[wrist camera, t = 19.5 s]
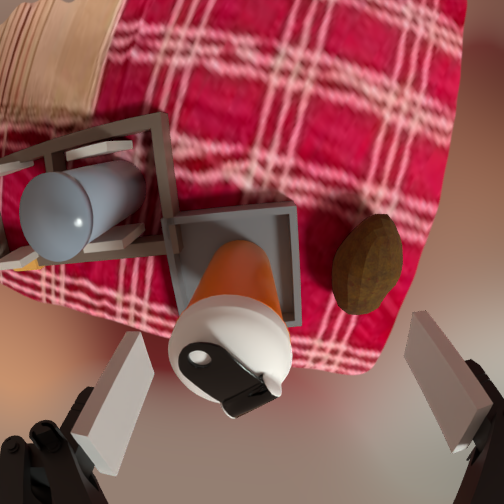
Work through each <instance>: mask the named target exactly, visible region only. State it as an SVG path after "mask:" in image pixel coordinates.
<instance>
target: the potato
mask: <svg viewBox="0 0 504 504" xmlns="http://www.w3.org/2000/svg"><path fill="white" fill-rule="evenodd" d="M402 264H403V254H402V243H401V239H400V236H399V233H398V231H397V228H396V226H395V224H394V222H393V221H392V220H391V218H390V217H389V216H388V214H375V215H373V216H371V217H369V218H367V219H365V220H364V221H362V222H361V223H360V224H359V225H358V226H357V227H356V228H355V229H354V230H353V231H352V232H351V233H350V234H349V235H348V237H347V238H346V239H345V240H344V241H343V243H342V244H341V245H340V247H339V248H338V250H337V252H336V254H335V257H334V259H333V266H332V287H333V294H334V297H335V299H336V301H337V304H338V306H339V307H340V308H341V309H342V310H344V311H345V312H346V313H348V314H352V315H360V314H367V313H370V312H371V311H373V310H375V309H377V308H378V307H379V305H380V304H381V302H382V301H383V299H384V298H385V296H386V295H387V293H388V292H389V291H390V290H391V289H392V288H393V287H394V286H395V285H396V283H397V281H398V279H399V277H400V274H401V270H402Z"/></svg>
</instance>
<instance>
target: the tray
mask: <svg viewBox="0 0 504 504" xmlns="http://www.w3.org/2000/svg"><path fill="white" fill-rule="evenodd" d="M168 219H170V218H168ZM168 219H167V220H166V218H165V219H163V217H162V218H161V224H162V230H163V236H164V242H165V247H166V253H167V258H168V263H169V269H170V274H171V279H172V284H173V288H174V293H175V298H176V303H177V307H178V312H179V316H180V315H181V313H182V312H183V311H184V310H185V309H186V308H187V306H188V304H189V302H190V300H191V298H192V296H193V294H194V292H195V290H196V288H197V286H198V284H199V282H200V281H201V279H202V277H203V275H204V273H205V271H206V269H207V267H208V265H209V263H210V261H211V259H212V257H213V255H214V254H215V252H216V251H217V250H218V249H219V248H220V247H221V246H222V245H224V244H226V243H228V242H231V241H235V240H245V241H250V242H252V243H254V244H256V245H258V246H259V247H261V248H262V249H263V250H264V252H265V253H266V255H267V256H268V259H269V261H270V265H271V269H272V274H273V278H274V282H275V287H276V291H277V295H278V300H279V304H280V308H281V313H282V317H283V321H284V322H285V323H286V326H287V327H295V326H302V316H301V286H300V262H299V242H298V224H297V207H296V204H295V203H294V201H284V202H272V203H260V204H249V205H238V206H228V207H218V208H208V209H199V210H190V211H181V212H179V213H178V214H177V215H176V216H175V217H174V218H171V219H170V220H172V221H171V222H173V221H174V222H173V223H175V225H177V224H180V227H181V234H182V240H183V246H184V247H183V249H182V250H181V252H180V253H179V254H173V251H172V250H173V248H172V245H171V243H172V242H171V239H170V238H171V237H170V235H169V234H170V233H168V234H167V235H166V233H167V232H166V231H167V230H168V231H169V232H170V230H169V228H168V227H169V226H167V224H168V223H169V222H170V221H169V222H167V221H168ZM164 220H166V221H164ZM165 222H166V224H165ZM171 222H170V223H169V224H170V225H174V224H173V223H172V224H171ZM166 226H167V227H166ZM165 228H166V229H165ZM167 238H168V239H167ZM169 239H170V240H169ZM167 240H169V241H167ZM169 243H170V244H169ZM166 245H167V246H166ZM170 245H171V246H170ZM169 246H170V247H169ZM168 247H169V248H168ZM171 252H172V253H171Z"/></svg>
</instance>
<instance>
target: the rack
mask: <svg viewBox="0 0 504 504" xmlns="http://www.w3.org/2000/svg"><path fill="white" fill-rule="evenodd" d="M147 131H151V133H152V142H153V150H154V158H155V166H156V174H157V181H158V188H159V195H160V202H161V208H162V214H163V219H165V218H166V220H167V219H168V218H170V219H171V218H174V217H175V216H176V215H177V214H178V213H179V212H180V209H179V202H178V195H177V188H176V180H175V173H174V165H173V157H172V148H171V139H170V130H169V121H168V114H166V113H162V112H157V113H152V114H147V115H142V116H137V117H133V118H128V119H124V120H120V121H116V122H112V123H108V124H104V125H100V126H96V127H92V128H89V129H85V130H82V131H78V132H75V133H71V134H68V135H65V136H61V137H58V138H55V139H52V140H49V141H46V142H43V143H40V144H37V145H34V146H31V147H29V148H26V149H23V150H20V151H18V152H15V153H13V154H10V155H7V156H5V157H2V158H0V176H4V175H7V174H10V173H13V172H16V171H19V170H22V169H25V168H28V167H31V166H34V162H33V161H34V160H37V159H40V158H43V157H44V160H45V167H46V173H47V172H52V171H60V172H62V171H66V164H65V156H64V151H67V150H70V151H67V152H66V158H67V161H71V160H77V159H83V158H90V157H96V156H101V155H105V154H110V153H114V152H119V151H124V150H129V149H133V145H132V140H130V141H106V142H101V141H105V140H110V139H114V138H118V137H123V136H128V135H132V134H137V133H142V132H147ZM97 142H101V143H97ZM93 143H97V144H93ZM89 144H93V145H89ZM85 145H89V146H85ZM82 146H85V147H82ZM78 147H82V148H78ZM74 148H78V149H74ZM71 149H74V150H71ZM170 219H168V221H167V222H169V221H170V222H171V221H172V220H170ZM166 220H164V221H166ZM170 222H169V223H170ZM173 222H174V221H173ZM173 222H171V224H172V223H173ZM169 223H168V224H167V226H169V227H168V228H169V230H170V232H169V231H168V230H167V231H166V232H167V233H166V235H167V234H168V233H170V234H169V235H170V237H171V238H170V239H171V242H172V243H171V245H172V248H173V250H172V251H173V254H179V253H180V252H181V250H182V249H183V247H184V246H183V240H182V234H181V227H180V224H177V225H175V223H173V224H174V225H170V224H169ZM165 224H166V222H165ZM167 226H166V227H167ZM165 229H166V228H165ZM144 231H145V226H144V223H136V224H128V225H121V226H114V227H112V228H110V229H109V230H107V231H106V232H104V233H103V234H102V235H100V236H99V237H97V238H96V239H94V240H93V241H91V242H90V243H88V244H87V245H86V246H85V248H84V249H83V250H82V251H81V252H79V253H78V254H77V255H75V256H74V257H73V258H71V259H69V260H66V261H62V262H55V261H50V260H47V259H45V258H43V257H42V256H40V255H39V254H38V253H37V252H35V250H34V249H33V248H32V247H31V246H23V247H20V248H18V249H16V250H15V251H13V252H11V253H10V251H9V247H8V243H7V239H6V235H5V231H4V227H3V222H2V218H1V213H0V270H6V269H14V271H25V270H37V269H42V268H43V267H44V266H47V265H58V264H68V263H79V262H90V261H101V260H112V259H123V258H134V257H145V256H156V255H167V253H166V247H165V242H164V236H163V234H161V235H151V236H142V237H138V236H140V235H141V234H142V233H143V232H144ZM167 239H168V238H167ZM170 239H169V240H170ZM169 240H167V241H169ZM169 244H170V243H169ZM171 245H170V246H171ZM166 246H167V245H166ZM170 246H169V247H170ZM169 247H168V248H169ZM171 253H172V252H171Z"/></svg>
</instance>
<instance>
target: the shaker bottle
mask: <svg viewBox="0 0 504 504" xmlns="http://www.w3.org/2000/svg"><path fill="white" fill-rule="evenodd" d="M168 353H169V360H170V363H171V365H172V368H173V370H174V371H175V373H176V375H177V376H178V378H179V379H180V380H181V381H182V382H183V383H184V384H185V385H186V386H187V387H188V388H189V389H190V390H191V391H193V392H194V393H195V394H197V395H199V396H201V397H203V398H205V399H207V400H210V401H213V402H218V403H220V405H221V408H222V410H223V411H224V412H225V414H226V415H227V416H229V417H230V418H238V417H239V416H242V415H244V414H246V413H248V412H250V411H252V410H254V409H256V408H258V407H260V406H262V405H264V404H266V403H268V402H270V401H272V400H274V399H276V398H278V397H279V396H281V393H282V390H281V383H282V382H283V381H284V379H285V378H286V376H287V374H288V373H289V370H290V367H291V363H292V350H291V340H290V333H289V331H288V328H287V326H286V323H285V322H284V321H283V317H282V313H281V308H280V304H279V300H278V295H277V291H276V287H275V282H274V278H273V274H272V269H271V265H270V261H269V259H268V256H267V255H266V253H265V252H264V250H263V249H262V248H261V247H259V246H258V245H256V244H254V243H252V242H250V241H245V240H235V241H231V242H228V243H226V244H224V245H222V246H221V247H220V248H219V249H218V250H217V251H216V252H215V254H214V255H213V257H212V259H211V261H210V263H209V265H208V267H207V269H206V271H205V273H204V275H203V277H202V279H201V281H200V282H199V284H198V286H197V288H196V290H195V292H194V294H193V296H192V298H191V300H190V302H189V304H188V306H187V308H186V309H185V310H184V311H183V312H182V313H181V315H180V316H179V318H178V319H177V321H176V324H175V326H174V329H173V332H172V335H171V338H170V340H169V346H168Z"/></svg>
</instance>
